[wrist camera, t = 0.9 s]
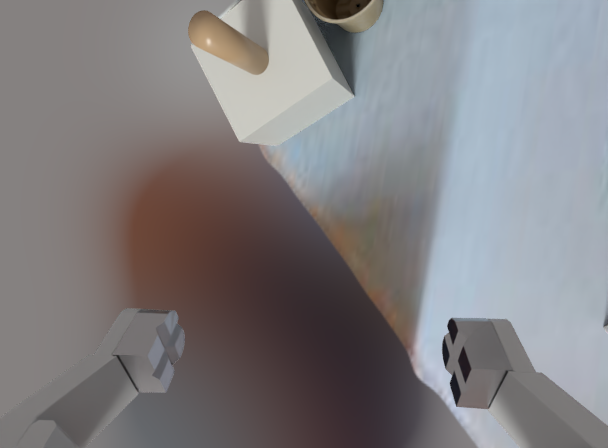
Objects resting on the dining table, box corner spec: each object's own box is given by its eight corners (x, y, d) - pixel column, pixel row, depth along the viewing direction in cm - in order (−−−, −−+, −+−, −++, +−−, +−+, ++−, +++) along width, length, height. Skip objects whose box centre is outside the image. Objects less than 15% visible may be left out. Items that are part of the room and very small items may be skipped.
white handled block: (310, 11, 48) (224, -95, 28) (354, 96, 47) (298, 49, 28) (238, 68, 53) (121, 12, 33) (277, 146, 52) (184, 135, 33)
